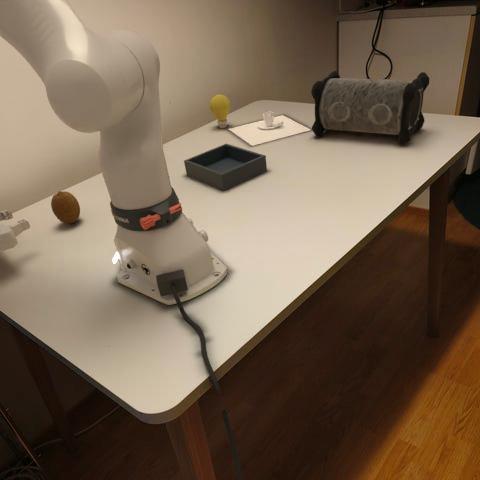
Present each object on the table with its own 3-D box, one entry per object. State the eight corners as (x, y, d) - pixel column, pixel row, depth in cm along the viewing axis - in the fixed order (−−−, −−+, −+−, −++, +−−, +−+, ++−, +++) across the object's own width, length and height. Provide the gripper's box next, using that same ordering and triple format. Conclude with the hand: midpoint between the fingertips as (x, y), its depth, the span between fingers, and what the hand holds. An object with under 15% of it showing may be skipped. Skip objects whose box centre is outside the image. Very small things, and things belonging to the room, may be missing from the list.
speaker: (331, 122, 143) (332, 68, 133) (424, 128, 129) (432, 70, 120) (310, 138, 134) (308, 83, 124) (407, 147, 120) (414, 86, 111)
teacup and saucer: (287, 126, 145) (286, 113, 142) (264, 132, 143) (263, 119, 140) (275, 120, 151) (274, 107, 148) (253, 125, 149) (252, 112, 147)
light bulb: (211, 126, 155) (206, 94, 148) (229, 122, 156) (225, 90, 149) (216, 131, 150) (211, 99, 143) (235, 127, 151) (231, 94, 144)
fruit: (58, 220, 112) (45, 190, 107) (83, 214, 113) (72, 183, 108) (59, 231, 107) (46, 200, 102) (86, 224, 108) (74, 192, 103)
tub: (267, 170, 120) (265, 155, 117) (223, 190, 113) (221, 174, 111) (228, 157, 130) (226, 143, 128) (186, 175, 124) (183, 160, 121)
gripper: (-37, 240, 85) (34, 215, 92) (-68, 215, 97) (-4, 195, 105) (-23, 270, 88) (44, 243, 96) (-54, 242, 101) (7, 221, 108)
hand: (19, 218), depth 100 cm, fingers open, 8 cm apart
